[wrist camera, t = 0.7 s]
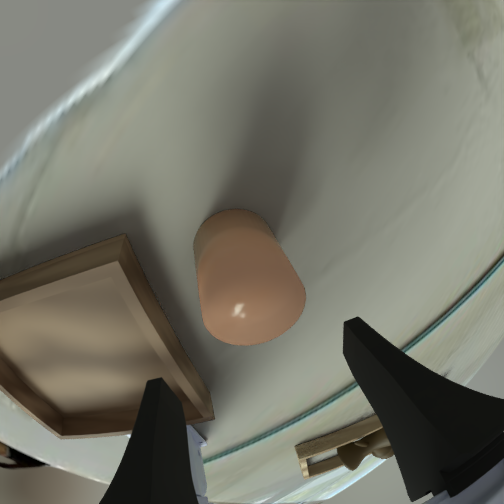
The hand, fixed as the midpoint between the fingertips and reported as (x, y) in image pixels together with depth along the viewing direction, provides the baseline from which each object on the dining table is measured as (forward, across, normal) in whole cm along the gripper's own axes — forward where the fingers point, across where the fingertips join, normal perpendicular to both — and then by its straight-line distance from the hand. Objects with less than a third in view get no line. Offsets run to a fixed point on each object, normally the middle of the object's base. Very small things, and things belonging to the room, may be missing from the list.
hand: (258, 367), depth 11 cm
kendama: (+9, -14, +46) cm, 49 cm away
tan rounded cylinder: (+10, -1, 0) cm, 10 cm away
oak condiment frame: (+9, -14, +46) cm, 50 cm away
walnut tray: (+9, +14, +6) cm, 18 cm away
